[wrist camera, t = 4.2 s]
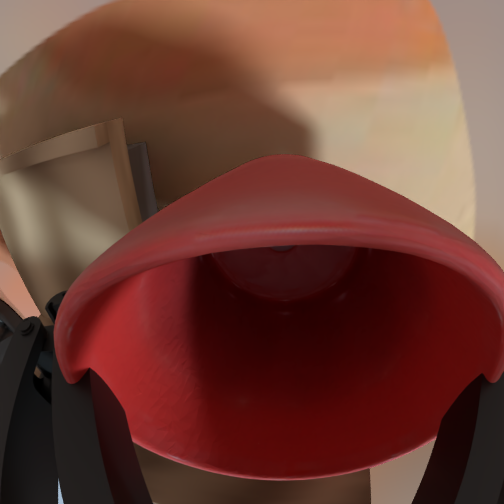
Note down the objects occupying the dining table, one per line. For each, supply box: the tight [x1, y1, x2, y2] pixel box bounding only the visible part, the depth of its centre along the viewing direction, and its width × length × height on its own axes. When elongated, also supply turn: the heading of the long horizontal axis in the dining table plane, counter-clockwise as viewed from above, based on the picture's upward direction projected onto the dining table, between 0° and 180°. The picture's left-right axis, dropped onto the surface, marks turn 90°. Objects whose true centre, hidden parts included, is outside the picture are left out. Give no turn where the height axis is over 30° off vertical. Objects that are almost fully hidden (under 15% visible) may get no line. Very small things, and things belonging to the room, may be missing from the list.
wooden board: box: [34, 315, 371, 504], centre depth 16 cm, size 26×2×16 cm, turn 93°
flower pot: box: [54, 154, 504, 480], centre depth 9 cm, size 11×11×10 cm
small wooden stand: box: [0, 118, 158, 319], centre depth 17 cm, size 13×14×6 cm
